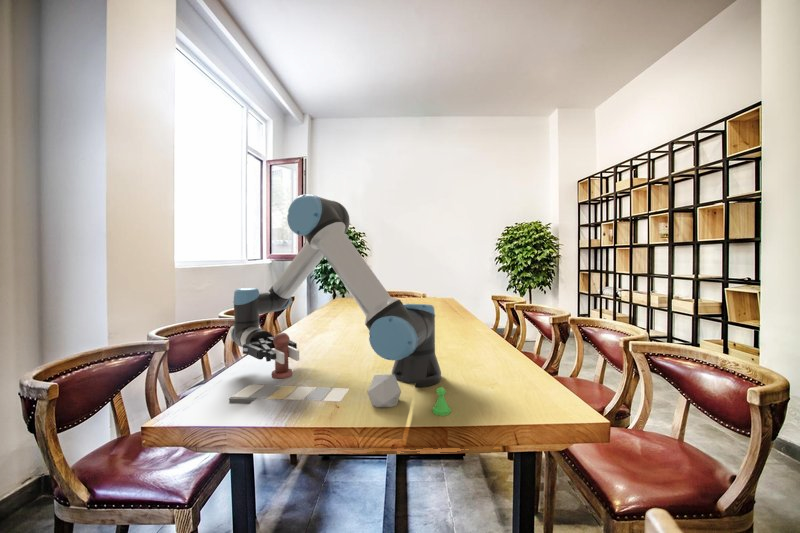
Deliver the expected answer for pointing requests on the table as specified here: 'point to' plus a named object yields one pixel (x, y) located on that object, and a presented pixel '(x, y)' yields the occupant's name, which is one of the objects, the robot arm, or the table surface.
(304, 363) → the table surface
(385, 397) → the die
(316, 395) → the board
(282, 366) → the pawn
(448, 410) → the game piece
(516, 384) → the table surface
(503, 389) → the table surface
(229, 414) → the table surface
